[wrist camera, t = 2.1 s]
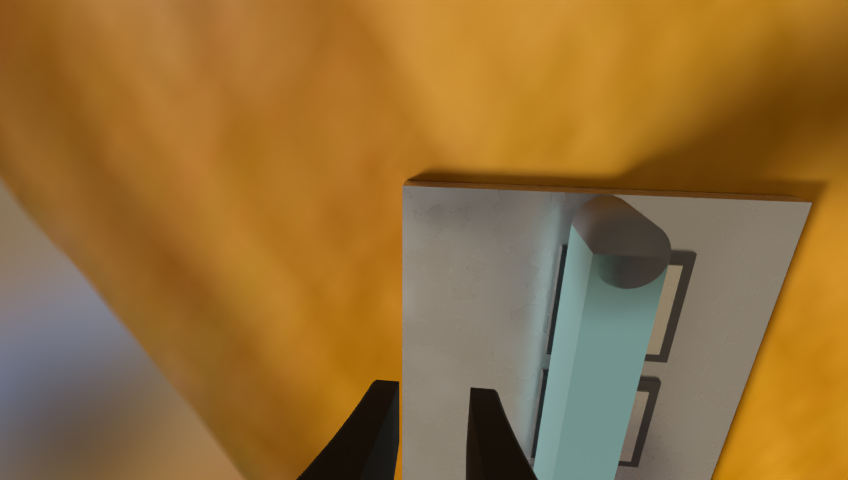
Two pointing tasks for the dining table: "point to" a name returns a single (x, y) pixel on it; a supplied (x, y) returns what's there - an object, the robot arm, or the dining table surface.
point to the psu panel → (538, 307)
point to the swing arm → (600, 339)
